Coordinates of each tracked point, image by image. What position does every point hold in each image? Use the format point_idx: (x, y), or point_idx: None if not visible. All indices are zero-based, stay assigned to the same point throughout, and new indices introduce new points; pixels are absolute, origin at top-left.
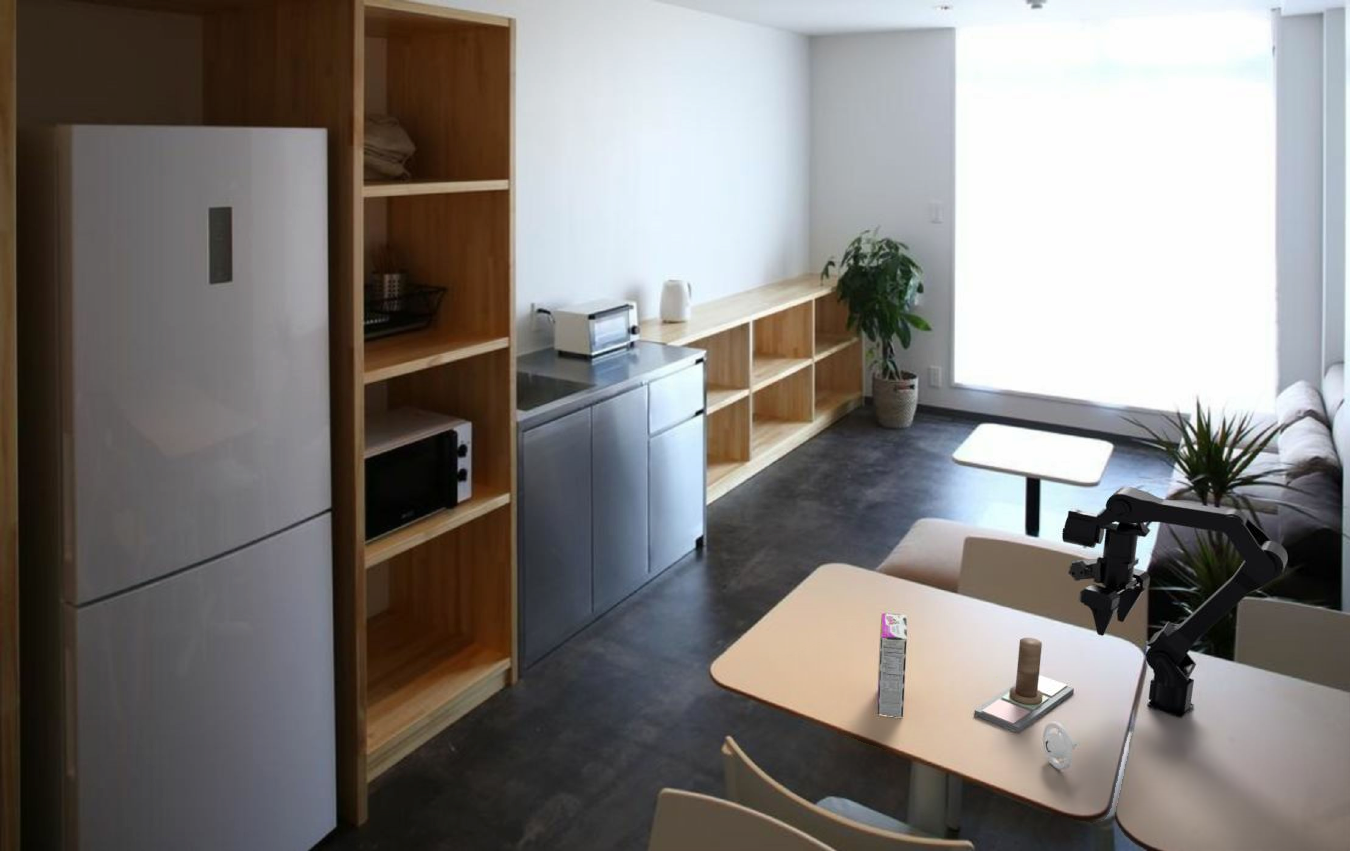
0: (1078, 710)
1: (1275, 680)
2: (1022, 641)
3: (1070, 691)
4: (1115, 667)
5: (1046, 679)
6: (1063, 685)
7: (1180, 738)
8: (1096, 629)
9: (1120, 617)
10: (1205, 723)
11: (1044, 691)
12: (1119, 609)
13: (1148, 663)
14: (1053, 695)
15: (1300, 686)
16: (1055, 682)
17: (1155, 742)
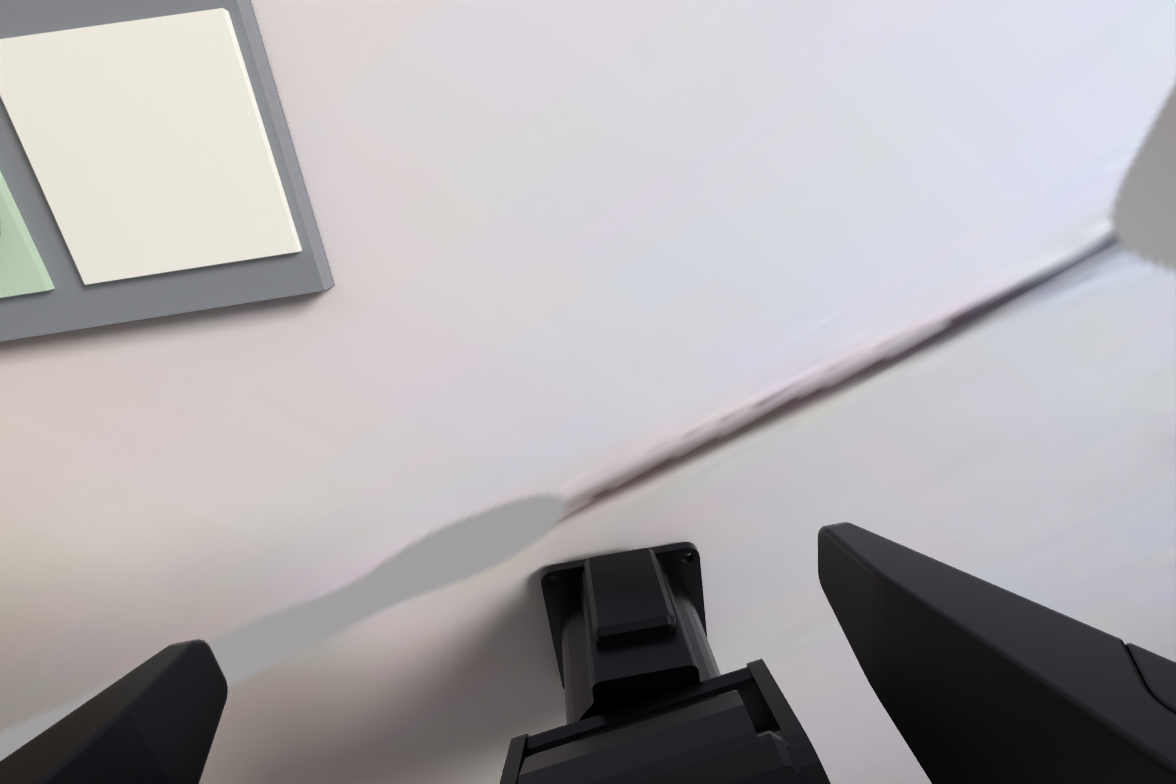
0: (195, 421)
1: None
2: None
3: (281, 297)
4: (829, 238)
5: (229, 114)
6: (272, 241)
7: (414, 754)
8: (96, 696)
9: (845, 589)
10: None
11: (80, 219)
12: (928, 652)
13: (526, 764)
14: (116, 279)
15: None
16: (255, 182)
17: (294, 732)
